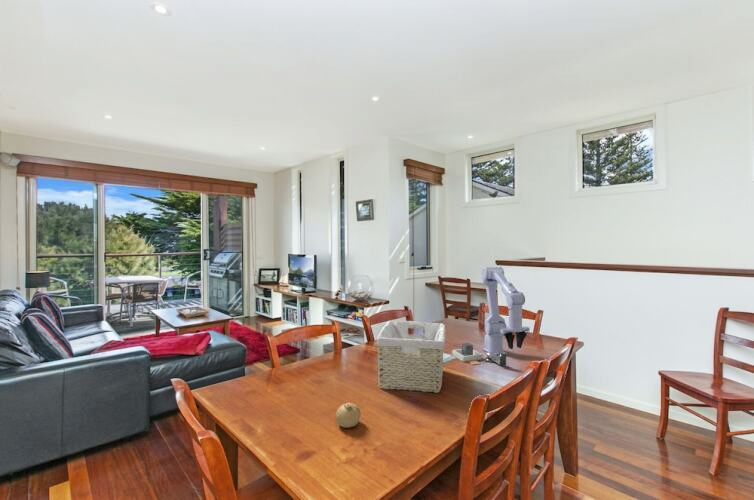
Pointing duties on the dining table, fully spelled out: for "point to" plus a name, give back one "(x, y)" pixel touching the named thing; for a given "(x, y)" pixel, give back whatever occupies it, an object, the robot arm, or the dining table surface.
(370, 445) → the dining table surface
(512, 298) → the robot arm
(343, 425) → the onion
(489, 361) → the crank foot
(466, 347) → the stop block
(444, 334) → the basket
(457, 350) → the tray
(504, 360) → the crank
